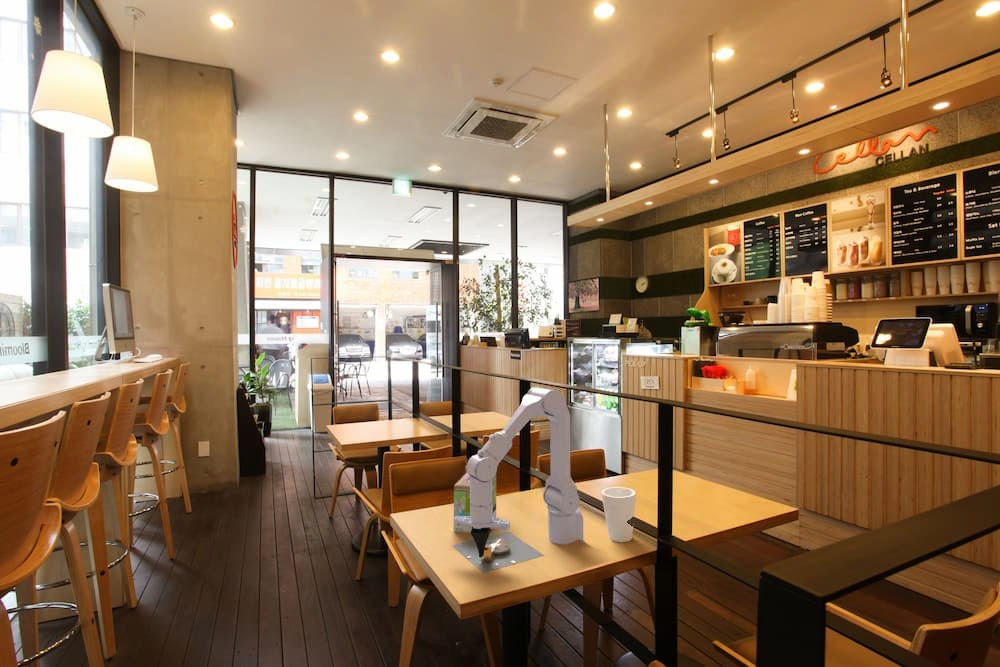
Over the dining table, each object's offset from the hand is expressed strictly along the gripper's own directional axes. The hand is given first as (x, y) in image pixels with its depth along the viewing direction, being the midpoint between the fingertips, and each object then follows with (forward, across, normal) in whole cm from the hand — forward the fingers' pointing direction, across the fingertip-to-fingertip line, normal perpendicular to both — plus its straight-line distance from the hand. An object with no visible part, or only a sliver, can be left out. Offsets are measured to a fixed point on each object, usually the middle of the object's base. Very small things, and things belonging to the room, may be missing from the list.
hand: (481, 555), depth 131 cm
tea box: (+2, -9, +23) cm, 25 cm away
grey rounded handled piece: (+1, +2, +4) cm, 4 cm away
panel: (+2, +2, +6) cm, 7 cm away
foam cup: (+2, +34, +25) cm, 42 cm away
